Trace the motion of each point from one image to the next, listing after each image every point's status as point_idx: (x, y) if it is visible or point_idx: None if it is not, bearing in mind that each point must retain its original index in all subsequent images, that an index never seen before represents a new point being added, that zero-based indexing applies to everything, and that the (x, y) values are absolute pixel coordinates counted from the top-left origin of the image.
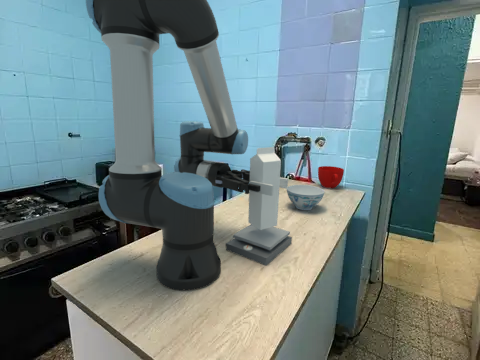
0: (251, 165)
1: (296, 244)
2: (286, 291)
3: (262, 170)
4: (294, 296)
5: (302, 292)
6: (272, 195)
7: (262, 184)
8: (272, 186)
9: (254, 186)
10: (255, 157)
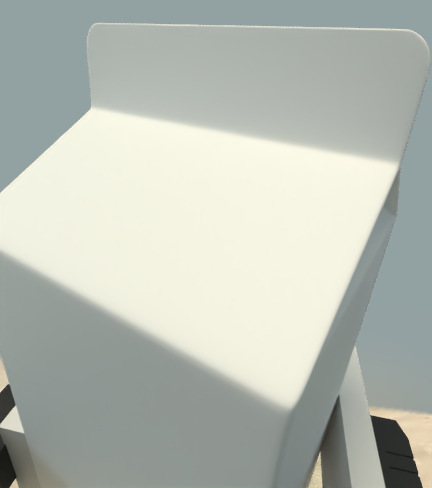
0: (293, 461)
1: None
2: None
3: (368, 301)
4: (404, 426)
5: (376, 413)
6: None
7: (361, 386)
8: None
9: (412, 463)
10: (339, 255)
